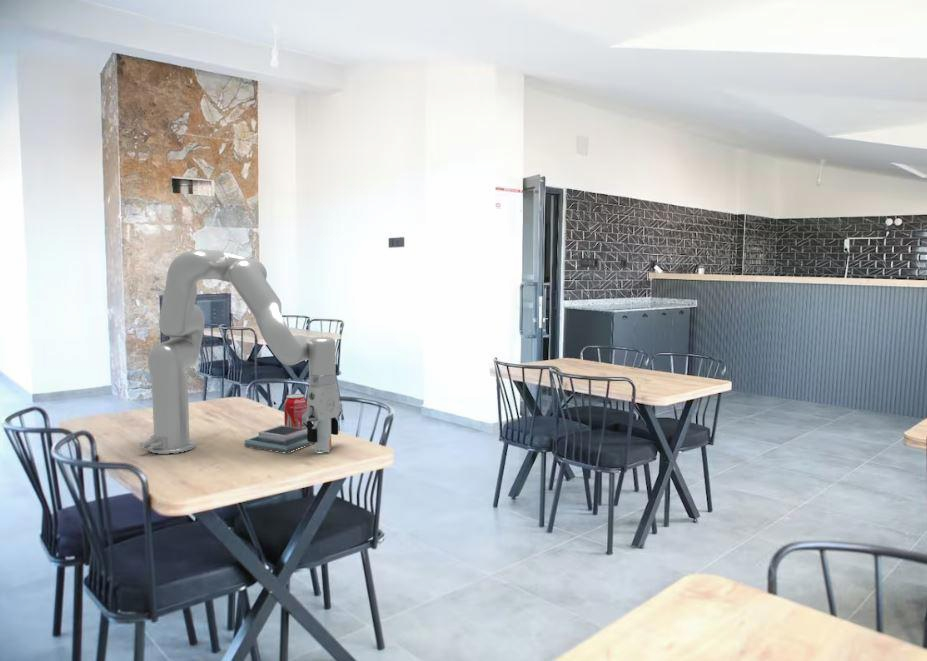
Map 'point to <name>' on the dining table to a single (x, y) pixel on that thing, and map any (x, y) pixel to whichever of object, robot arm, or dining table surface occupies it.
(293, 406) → the soda can
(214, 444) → the dining table surface
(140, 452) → the dining table surface
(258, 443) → the tray
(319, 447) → the skincare box
